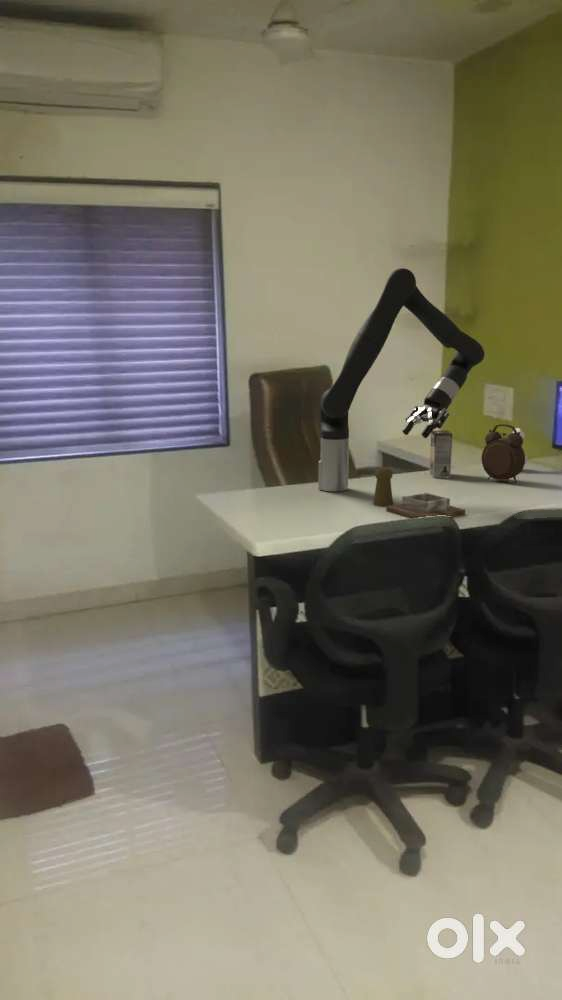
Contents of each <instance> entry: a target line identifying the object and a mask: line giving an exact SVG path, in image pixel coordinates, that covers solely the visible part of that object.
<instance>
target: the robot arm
mask: <svg viewBox="0 0 562 1000" xmlns="http://www.w3.org/2000/svg"><path fill="white" fill-rule="evenodd" d="M403 307H404V308H405V309H407V310H408V311H410V312H411V314H413V316H414V317H416V319H418V320H419V321H420V322H421V324H423V326H424V328H426V329H427V330H428V331H429V332H430V333H431V335H433V337H434V338H435V339H436V340H437V341H438V342H439V343H440V344H441V345H442V346H443V347H444V348H446V349H454V351H457V352H456V353H455V355H454V356H453V357H452V359H451V361H450V362H449V365H448V367H447V368H446V369H445V371H444V372H443V373H442V375H441V377H439V379H438V380H437V381H436V383H435V384H434V385H433V387H432V388H431V390H429V392H428V394H427V395H426V396H425V398H424V400H423V405H422V406H421V407H419V406H417V405H416V404H415V405H414V406H413V407H412V408H411V409H410V411H409V412H408V413H407V415H406V416H405V417H404V420H405V422H406V424H405V425H404V427H403V428H402V430H401V431H402V433H403V434H404V436H405V435H406V436H408V435H409V434H410V433H411V431H412V429H413V428H414V426H416V425H417V424H422V423H423V422H424V423H426V422H427V423H428V424H427V425H426V426H425V428H424V429H423V430H422V432H421V437H423V438H424V439H427V438H428V437H429V436H431V432H432V431H435V430H436V429H439V430H441V428H442V426H443V425H444V424H445V422H446V420H447V419H448V417H449V416H450V413H449V412H448V411H447V410H448V408H450V405H452V403H453V402H454V400H455V399H456V397H457V395H458V393H459V391H460V390H461V388H462V387H463V385H464V384H465V383H466V381H467V379H468V374H469V373H470V371H471V370H472V369H473V368H474V367H475V366H477V365H479V364H480V363H482V362H483V360H484V359H485V355H486V353H485V350H484V347H483V345H481V344H480V342H478V341H477V340H476V339H475V338H473V337H472V336H470V335H469V334H467V333H465V332H464V331H462V330H461V329H460V328H459V327H458V326H457V325H456V324H455V323H454V322H453V321H452V320H451V318H449V317H448V316H447V315H446V314H445V313H444V312H442V311H441V310H440V309H439V308H438V307H436V306H435V305H434V304H433V303H432V302H431V301H429V300H428V299H427V297H426V296H424V294H422V291H420V289H419V288H418V286H417V280H416V276H415V274H414V272H412V271H411V270H410V269H408V268H404V267H401V268H397V269H394V270H393V271H392V272H391V273H390V274H389V275H388V277H387V278H386V282H385V285H384V287H383V290H382V292H381V295H380V297H379V299H378V301H377V303H376V304H375V306H374V308H373V310H372V311H371V312H370V313H369V315H368V316H367V318H366V319H365V320H364V322H363V324H362V325H361V327H360V328H359V330H358V332H357V334H356V336H355V337H354V339H353V340H352V343H351V344H350V347H349V349H348V351H347V354H346V357H345V360H344V363H343V366H342V368H341V370H340V373H339V375H338V376H337V378H336V380H335V381H334V383H333V384H332V385H331V387H330V388H329V389H327V390H326V391H324V392H323V394H322V396H321V399H320V406H319V407H320V410H319V411H320V414H319V415H320V460H318V488H317V489H318V491H319V490H320V491H321V490H322V491H325V492H334V493H335V492H337V493H338V492H345V491H347V490H348V489H349V449H350V448H349V447H350V446H349V445H350V443H349V442H350V428H349V411H350V409H351V406H352V403H353V401H354V399H355V396H356V394H357V392H358V389H359V387H360V385H361V383H362V382H363V381H364V378H365V377H367V374H368V373H369V371H370V370H371V369H372V367H373V365H374V363H375V362H376V360H377V358H378V356H379V355H380V353H381V352H382V349H383V348H384V346H385V344H386V341H387V340H388V338H389V335H390V333H391V330H392V328H393V326H394V323H395V321H396V319H397V317H398V315H399V313H400V312H401V310H402V309H403Z"/></svg>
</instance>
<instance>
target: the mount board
mask: <svg viewBox="0 0 562 1000" xmlns="http://www.w3.org/2000/svg"><path fill="white" fill-rule="evenodd" d="M450 500H451V499H450V498H448V497H444V496H440V495H436V494H432V493H428V492H424V493H418V494H411V495H405V496H402V498H401V503H396V504H393V505H390V506H385V507H386V508H385V509H386V511H385V512H388V513H391V514H395V515H397V516H402V517H405V518H408V519H411V518H418V517H426V516H437V515H446V516H451V518H456V517H461V516H464V515H465V516H466V509H465V508H460V507H456V506H453V505H450V503H451V501H450Z"/></svg>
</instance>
